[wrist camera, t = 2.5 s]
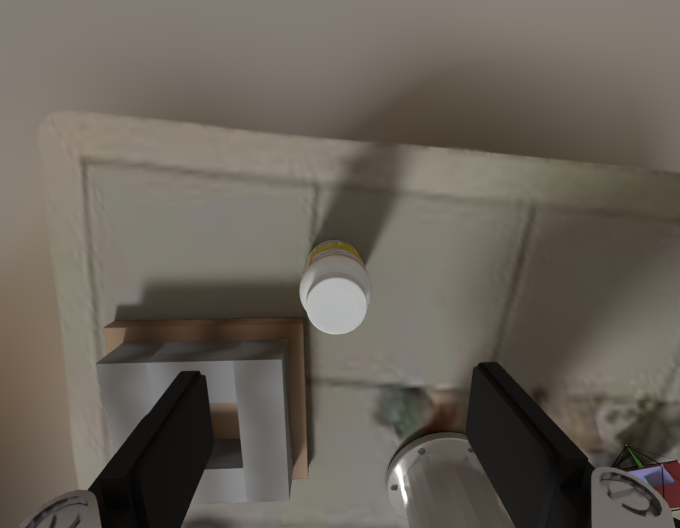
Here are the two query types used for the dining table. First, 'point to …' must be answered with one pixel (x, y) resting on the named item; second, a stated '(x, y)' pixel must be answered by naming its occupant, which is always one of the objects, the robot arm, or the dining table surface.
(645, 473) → the geometric puzzle
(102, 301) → the dining table surface
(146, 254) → the dining table surface
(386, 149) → the dining table surface
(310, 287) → the supplement bottle
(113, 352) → the holder
